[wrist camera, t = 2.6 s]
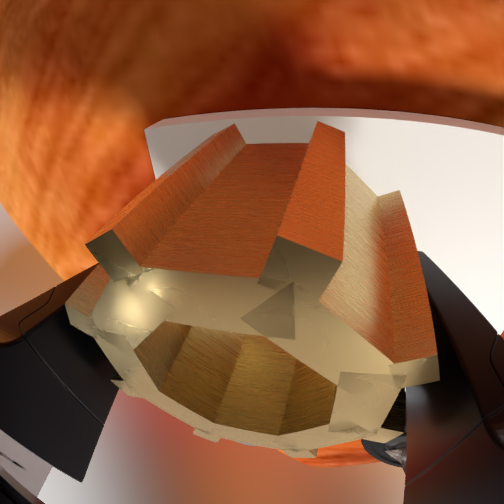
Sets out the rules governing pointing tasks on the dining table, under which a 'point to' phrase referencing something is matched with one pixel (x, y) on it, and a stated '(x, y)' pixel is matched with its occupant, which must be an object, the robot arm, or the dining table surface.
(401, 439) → the caster wheel
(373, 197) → the brass gear
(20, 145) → the dining table surface
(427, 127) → the gear board
